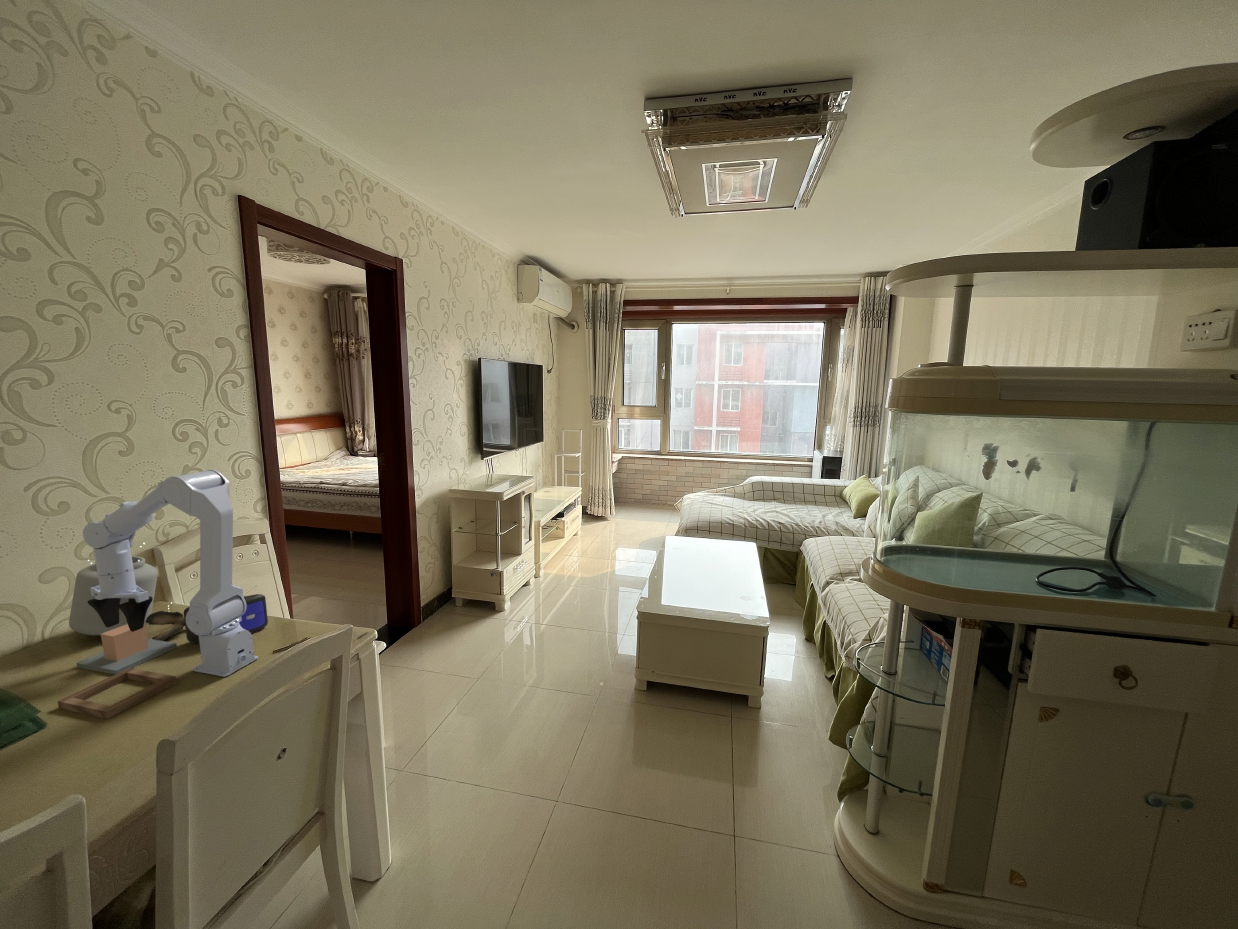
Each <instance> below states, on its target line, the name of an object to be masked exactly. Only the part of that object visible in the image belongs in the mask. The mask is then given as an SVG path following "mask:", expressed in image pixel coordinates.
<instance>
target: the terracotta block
mask: <svg viewBox="0 0 1238 929" xmlns="http://www.w3.org/2000/svg"><path fill="white" fill-rule="evenodd" d="M146 629H147V628H146V624H144V626H143V628H141V629H139V630H136V631H134V632H132V631H130V629H129V626H128V624H126V625H123V626H121V627H118V628H115V629H113V630H110V631H107V632H105V633H102V634H101V635H100V638H101V642H102V650H103V651H102V652H104V657H105V659H108V660H113V661H119V660H122V659H124V658H126V657H129V656H131V655H133V654H136V653H138V652H140V651H143V650H145V649H147V648H148V642H147V638H148V636H147V630H146Z"/></svg>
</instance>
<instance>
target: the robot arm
mask: <svg viewBox="0 0 1238 929" xmlns="http://www.w3.org/2000/svg"><path fill="white" fill-rule="evenodd" d="M230 490H231V481H230V480H228V479H227V478H226V477H225V476H224V475H223V473H221V472H220V471H218V470H216V469H207V470H204V471H199V472H192V473H189V474H188V473H187V474H181V475H178V476H177V475H173V476H168V477H167V478H165V479H164V480H162V481H160V482H158V485H157V487H156V488H154V489H153V490H152V491H151V492H149V493H148V494H146V496H144V497H143V498H142V499H140V500H139V501H138V500H137V501H135V500H134V501H125V502H124V501H123V502H121V503H120V504H118V506H119V508H117V509H116V510H115V511H113V512H109V513H107V514H105V517H104V518H102V520H99V521H89V522H88V523H87V524H86V525H85V526H84V527H83V529H82V537H83V540H84V542H85V543H86V544H87V546H89V547H91V548H93V549H92V550H93V554H94V560H95V561H96V567H97V574H98V579H99V585H98V586H95V587H92V588H90V590H91V596H95V598H94V599H91V600H89V601H88V604H89V605H90V606H92V607H93V608H94V609H95V610H96V612H97V613H98V614H99V616H100V618H101V619H102V621H103V623H104V625H105V626H106V627H107V628H109V627H111V626H114V625H116V624H119V609H120V610H121V611H122V612H123V614H124V615H125V617H126V620H127V623H128V626H129V629H130V631H132V632H134V631H136V630H139V629H141V628H143V626H144V621H145V616H146V612H147V610H148V607H149V605H150V603H151V602H152V600H153V598H152V597H149V596H148V591H144V590H143V589H141V588H140V587H138V586H137V585H136V582H135V575H134V568H133V562H132V556H133V555H132V550H131V549H132V547H133V546H134V542H133V540H134V537H135V536H136V533H137V531H139V530H140V529H142V528H143V527H145V526H146V525H148V524H149V523H151V522H152V521H153V519H154V516H155V513H156V512H157V511H159V510H161V509H163V508H164V507H167V506H168V505H171V506H173V507H174V508H175V509H178V510H180V511H182V512H183V513H185V514H186V515H188V516H190V517H194V518H195V517H196V518H197V519H198V520H199V522H200V523H199V524H200V525H199V526H200V529H199V535H200V537H199V538H200V540H199V541H200V543H199V545H200V546H199V549H200V552H199V553H200V554H199V562H200V563H199V568H200V569H199V570H200V571H199V573H200V574H199V576H200V577H199V578H200V579H199V581H200V582H199V583H200V584H199V586H200V588H199V590H198V591H197V592H196V593H195V595H194V596H193V597H192V598H191V599H190V601H189V607H190V608H189V611H188V613H187V615H186V624H187V627H188V628H189V629H190V630H191V631H192V632H193V633H195V635H199V643H198V644H199V651H200V656H201V663H200V664H198V665H197V666H194V667H193V668H192V669H191V671H193V672H196V673H201V674H207V675H212V676H217V677H218V676H219V677H223V678H224V677H228V676H230V675H232V674H233V673H235V672H236V671H239V670H240V669H241V668H244V667H245V666H247V665H249V664H250V663H252V662H255V661H256V660H258V659H259V656H258V655H255V649H254V648H255V647H254V640H253V635H252V634H253V633H250V632H249V631H247V630H245V629H243V628H242V627H241V626H240V624H239V622H240V621H242V618H241V616H242V615H243V614H244V613H245V611H246V608H247V605H246V601H245V599H244V589H243V588H242V587H240V586H238V585H235V584H233V553H234V552H233V548H234V546H233V541H234V511H233V510H234V509H233V506H232V503H231V500H230V496H231V495H230ZM121 598H122V599H128V601H129V602H125V603H122V604H120V600H121Z"/></svg>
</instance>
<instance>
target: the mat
mask: <svg viewBox="0 0 1238 929" xmlns="http://www.w3.org/2000/svg"><path fill="white" fill-rule="evenodd" d="M147 642H148V648H147V649H145V650H143V651H140V652H138V653H136V654H133V655H131V656H129V657H126V658H124V659H122V660H119V661H113V660H108V659H105V657H104V651H101V652H99V653H97V654H95V655H91V656H89V657H87V658H85V659H82V660H79V661H77V662H76V667H77V668H79V669H84V670H85V669H86V670H91V671H95V672H101V673H106V674H111V675H115V674H117V673H120V672H122V671H124V670H126V669H128V668H135V667H137V666H139V665H142V664H144V663H146V662H148V661H150V660H152V659H154V658H157V657H159V656H161V655H163V654H166V653H167V652H170V651H172V650H174V649H176V648H178V646H177V643H175V642H171V641H165V640H163V641H160V640H154V639H152V638H149V637H147Z"/></svg>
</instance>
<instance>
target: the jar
mask: <svg viewBox="0 0 1238 929" xmlns="http://www.w3.org/2000/svg"><path fill="white" fill-rule="evenodd" d="M143 545H146V543H145V542H143ZM139 548H142V545H141V546H139ZM87 561H88V562H90V559H88V560H87ZM132 562H133V568H134V575H135V582H136V585H137V586H138V587H140V588H141V589H143V590H144V591H148V596H149V597H152V598H153V600H152V602H151V603H150V605H149V607H148V610H147V612H146V616H145V620H147V619H146V618H147V617H148V616H149V615H150V614H152V613H153V607H154V599H155V594H156V588H157V581H158V574H159V571H158V570H157V568H156V567H155V566H153V565H151V564H149V563H146V558H144V557H141V556H135V555H132ZM98 585H99V579H98V574H97V567H96V561H95V562H94V563H93V562H90V565H88V566H86V567H84V568H82V569H80V570H79V571H78V572H77V574H76V576H75V581H74V588H73V594H72V595H73V596H72V599H71V607H70V614H69V619H68V626H69V627H70V629H71V630H72V631H73V632H76V633H79V634H81V635H85V636H101V634H102V633H105V632H107V631H110V630H113V629H115V628H118V627H121V626H123V625H126V624H128V623H127V620H126V617H125V615H124V614H123V612H122V611H121V610H120V609H119V624H116V625H114V626H111V627H109V628H107V627H106V626H105V625H104V623H103V621H102V619H101V618H100V616H99V614H98V613H97V612H96V610H95V609H94V608H93V607H92V606H90V605H89V604H88V601H89V600H91V599H94V598H95V596H91V590H90V588H92V587H95V586H98ZM125 602H129V601H128V599H122V598H121V600H120V604H122V603H125ZM170 604H173V602H171V601H170ZM167 607H168V608H167V609H168V612H171V611H170V610H169V609H170V608H169V607H170V605H167ZM144 624H145V625H146V624H147V623H146V622H145V621H144Z"/></svg>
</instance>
